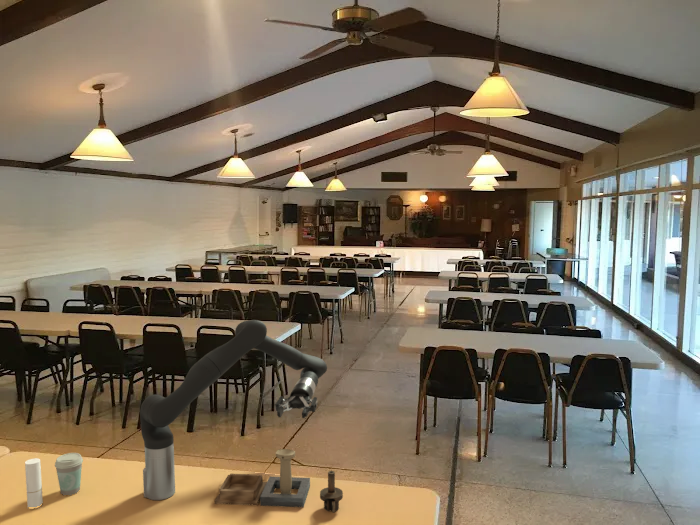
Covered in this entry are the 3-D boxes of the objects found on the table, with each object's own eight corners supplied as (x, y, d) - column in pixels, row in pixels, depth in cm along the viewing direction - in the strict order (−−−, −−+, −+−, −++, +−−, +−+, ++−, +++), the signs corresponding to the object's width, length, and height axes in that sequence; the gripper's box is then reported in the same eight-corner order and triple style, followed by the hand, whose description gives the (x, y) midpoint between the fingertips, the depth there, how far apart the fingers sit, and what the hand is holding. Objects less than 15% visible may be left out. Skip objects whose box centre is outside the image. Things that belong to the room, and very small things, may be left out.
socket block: (260, 505, 188) (260, 496, 187) (269, 484, 202) (269, 476, 201) (303, 507, 187) (303, 498, 186) (310, 486, 200) (310, 477, 200)
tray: (214, 503, 189) (214, 491, 188) (227, 483, 203) (227, 472, 202) (257, 505, 188) (257, 493, 187) (267, 484, 202) (266, 473, 201)
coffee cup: (50, 495, 195) (48, 460, 193) (71, 483, 203) (69, 450, 201) (69, 500, 191) (67, 464, 190) (90, 488, 199) (88, 454, 198)
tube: (45, 504, 189) (43, 459, 187) (34, 510, 185) (32, 465, 183) (35, 501, 190) (33, 457, 189) (24, 508, 186) (21, 463, 185)
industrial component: (340, 515, 182) (340, 478, 180) (317, 513, 183) (317, 476, 182) (345, 500, 191) (345, 465, 190) (324, 498, 192) (323, 463, 191)
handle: (292, 500, 191) (292, 456, 189) (274, 498, 193) (273, 454, 191) (297, 493, 196) (297, 450, 194) (279, 491, 197) (279, 448, 196)
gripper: (283, 382, 215) (269, 405, 200) (321, 382, 212) (310, 406, 197) (286, 400, 217) (272, 424, 202) (323, 400, 214) (312, 425, 199)
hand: (291, 415), depth 199 cm, fingers open, 8 cm apart
